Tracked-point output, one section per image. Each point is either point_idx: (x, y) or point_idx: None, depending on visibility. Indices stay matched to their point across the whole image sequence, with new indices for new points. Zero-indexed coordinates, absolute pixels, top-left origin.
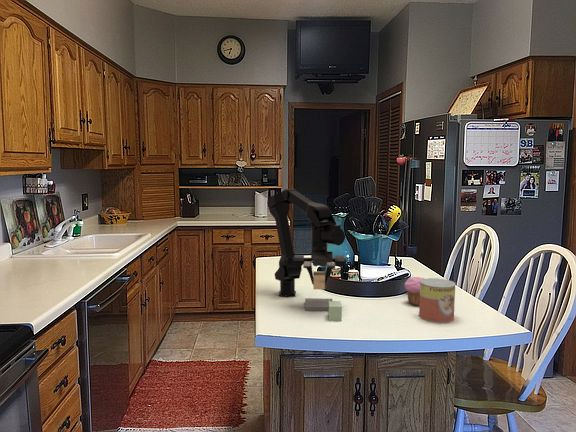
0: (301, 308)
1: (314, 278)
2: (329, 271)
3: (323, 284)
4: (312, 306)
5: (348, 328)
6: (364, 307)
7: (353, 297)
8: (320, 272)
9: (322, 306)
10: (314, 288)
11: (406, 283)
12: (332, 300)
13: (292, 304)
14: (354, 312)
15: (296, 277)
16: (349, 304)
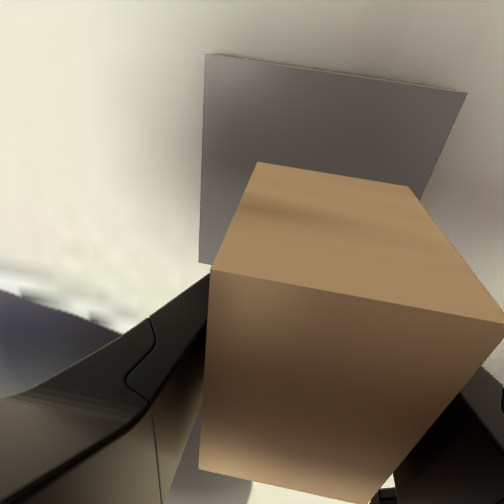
0: (451, 159)
1: (456, 270)
2: (68, 385)
3: (269, 190)
4: (394, 92)
5: None
6: (3, 128)
7: (89, 305)
8: (268, 450)
9: (302, 82)
10: (397, 189)
11: None
12: (200, 226)
13: (475, 253)
14: (52, 3)
15: (396, 496)
16: (102, 201)
